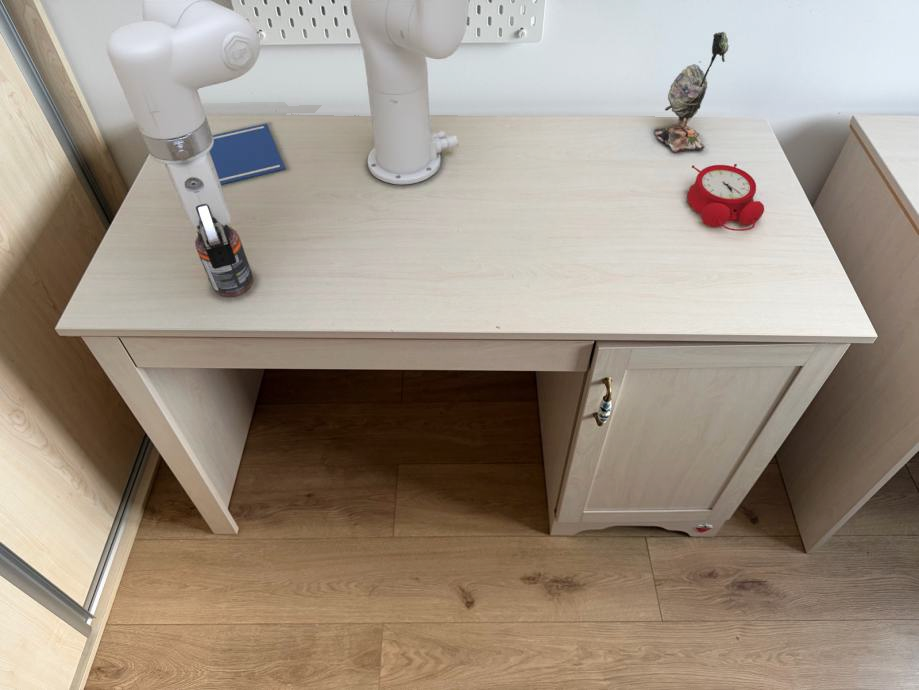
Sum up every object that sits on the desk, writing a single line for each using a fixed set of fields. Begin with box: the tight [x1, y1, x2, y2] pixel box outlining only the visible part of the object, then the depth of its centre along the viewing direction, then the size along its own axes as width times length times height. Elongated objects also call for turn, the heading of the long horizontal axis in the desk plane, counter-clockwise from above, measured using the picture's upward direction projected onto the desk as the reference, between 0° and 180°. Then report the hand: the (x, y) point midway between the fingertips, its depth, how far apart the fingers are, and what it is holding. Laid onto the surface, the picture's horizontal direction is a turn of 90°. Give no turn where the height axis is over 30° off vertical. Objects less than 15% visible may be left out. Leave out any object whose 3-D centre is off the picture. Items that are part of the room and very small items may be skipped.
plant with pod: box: [653, 31, 730, 153], centre depth 114 cm, size 8×11×20 cm
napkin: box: [209, 123, 286, 186], centre depth 119 cm, size 15×15×1 cm
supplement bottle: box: [194, 218, 254, 298], centre depth 94 cm, size 6×6×11 cm
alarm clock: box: [686, 163, 765, 232], centre depth 107 cm, size 10×6×15 cm
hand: (220, 248), depth 93 cm, fingers closed on supplement bottle, 5 cm apart
